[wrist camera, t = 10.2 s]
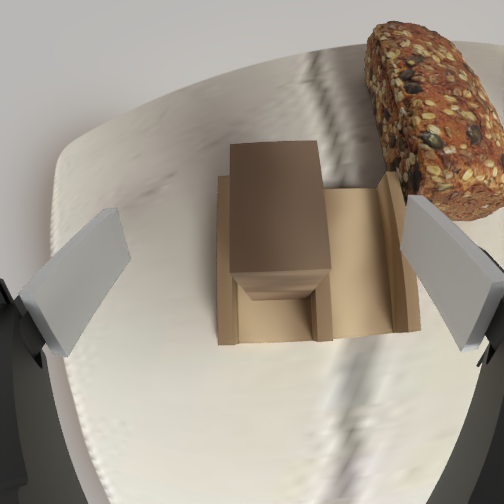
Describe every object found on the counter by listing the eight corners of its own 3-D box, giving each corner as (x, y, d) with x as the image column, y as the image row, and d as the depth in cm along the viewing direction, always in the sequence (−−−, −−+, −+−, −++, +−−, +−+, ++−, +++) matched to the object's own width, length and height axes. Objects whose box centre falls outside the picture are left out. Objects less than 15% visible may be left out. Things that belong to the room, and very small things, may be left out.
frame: (301, 222, 24) (316, 140, 13) (306, 298, 22) (331, 268, 12) (249, 224, 24) (228, 144, 14) (251, 300, 23) (227, 272, 12)
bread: (357, 75, 29) (372, 7, 19) (435, 88, 28) (463, 31, 19) (387, 224, 24) (438, 167, 15) (479, 228, 23) (541, 186, 14)
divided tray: (388, 193, 25) (403, 171, 21) (406, 330, 22) (428, 329, 18) (219, 199, 26) (210, 177, 22) (220, 342, 23) (208, 345, 19)
